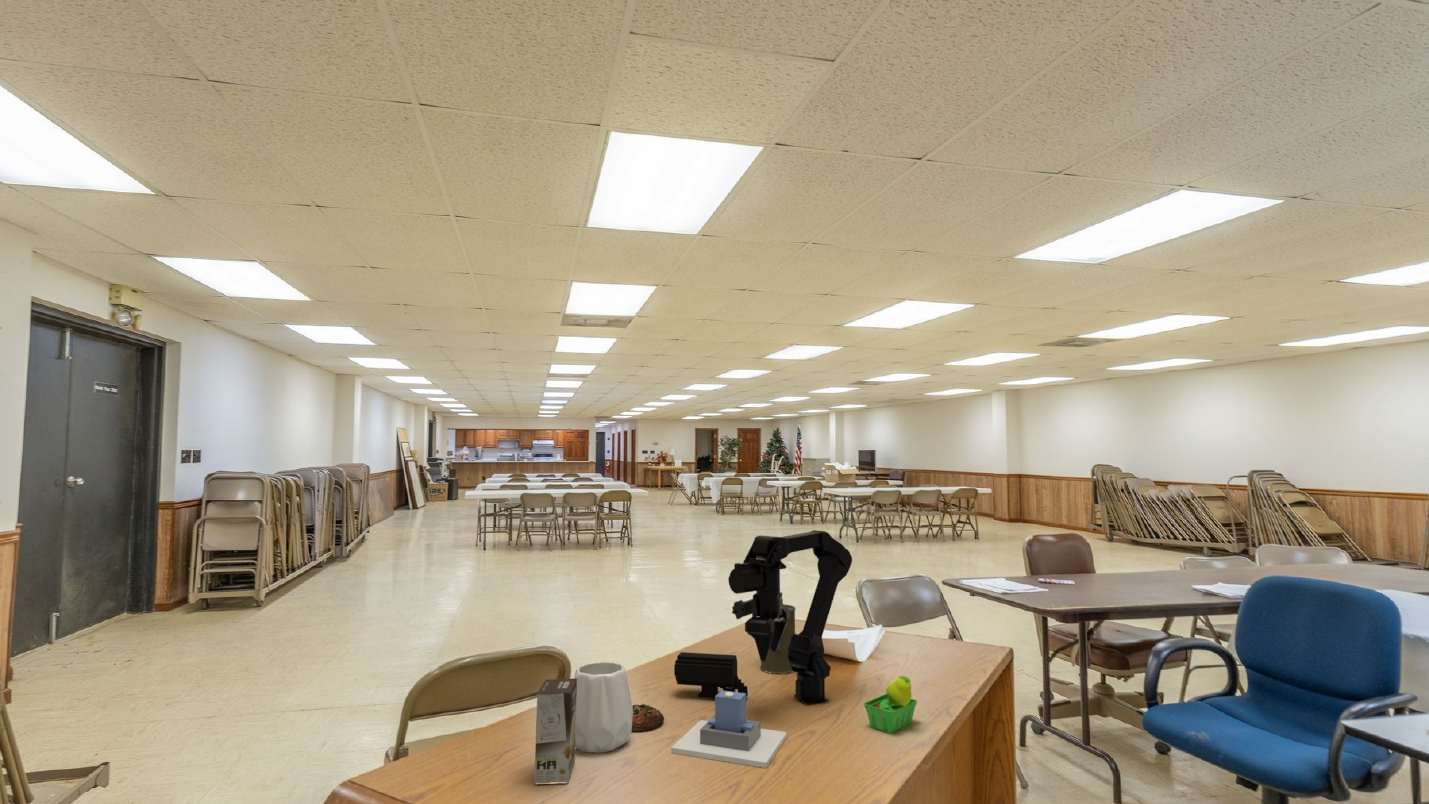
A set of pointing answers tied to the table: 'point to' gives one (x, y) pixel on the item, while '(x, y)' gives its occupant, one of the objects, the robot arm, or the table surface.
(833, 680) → the table surface
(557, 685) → the coffee box
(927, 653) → the table surface
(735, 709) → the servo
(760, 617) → the robot arm
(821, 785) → the table surface
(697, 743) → the plate
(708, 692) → the security camera
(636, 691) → the table surface
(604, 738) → the vase
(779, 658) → the canister
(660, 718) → the bread roll
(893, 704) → the fruit basket
